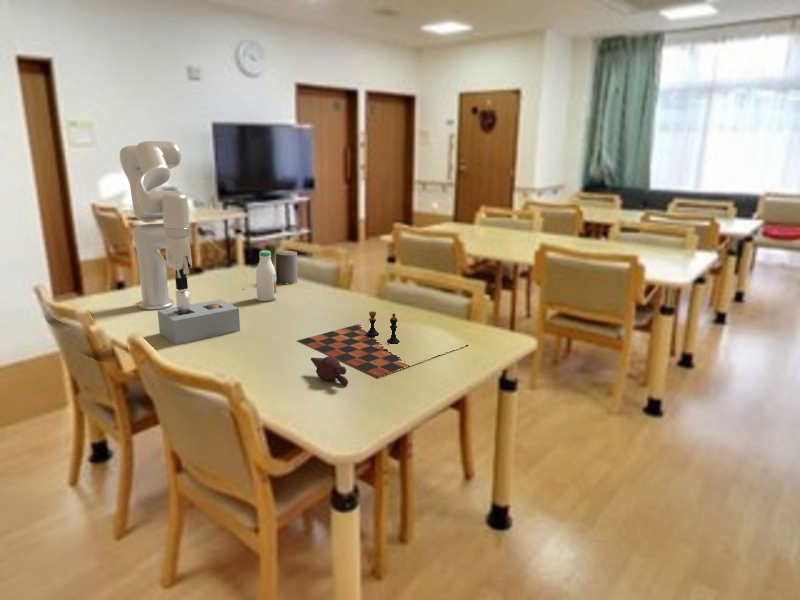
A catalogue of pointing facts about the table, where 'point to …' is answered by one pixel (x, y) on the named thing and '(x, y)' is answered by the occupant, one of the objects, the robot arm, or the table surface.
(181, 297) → the steel peg
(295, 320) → the table surface
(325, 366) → the brown knobby figurine
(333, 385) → the table surface
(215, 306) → the brown rounded cylinder
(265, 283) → the milk bottle
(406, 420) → the table surface
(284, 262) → the pillar candle
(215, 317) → the socket board
